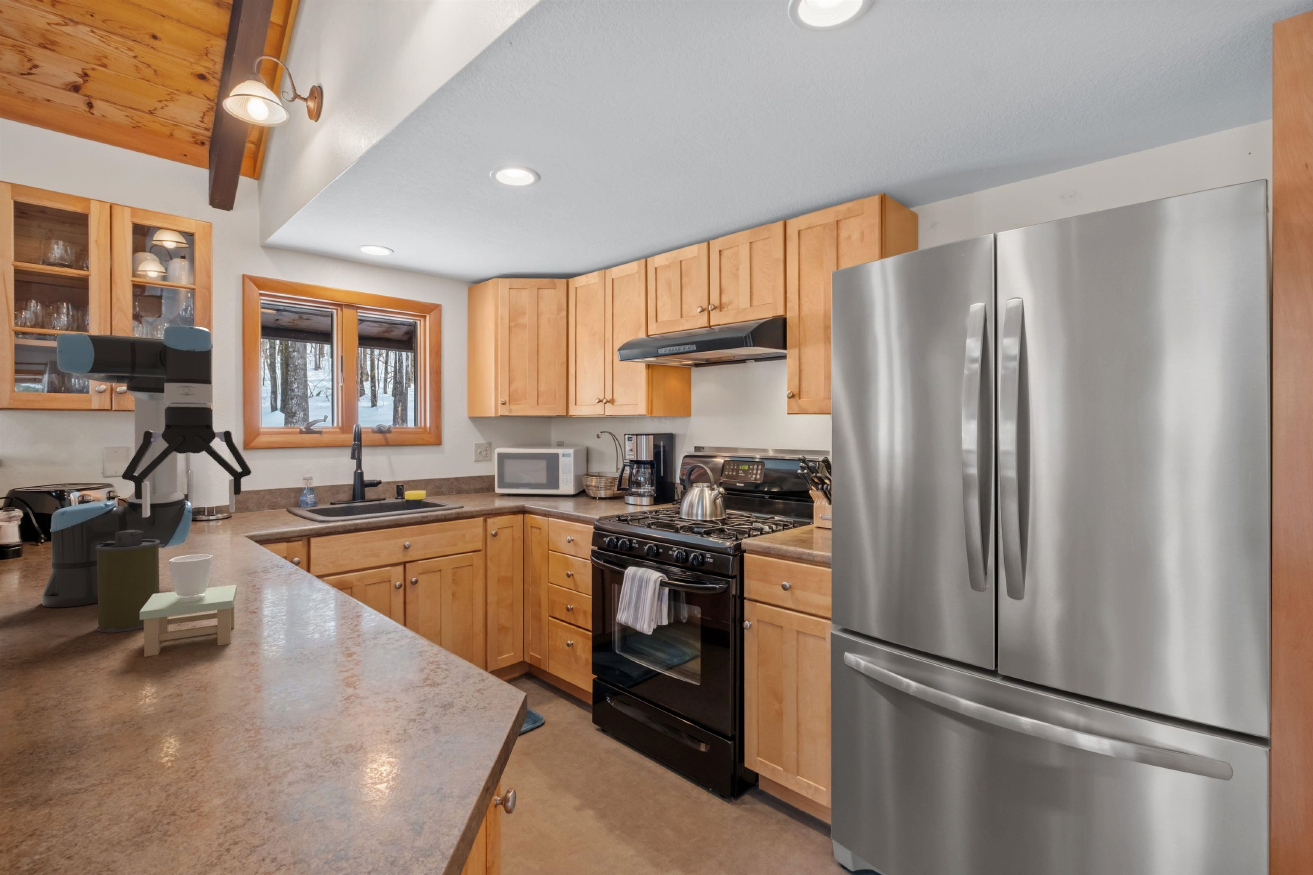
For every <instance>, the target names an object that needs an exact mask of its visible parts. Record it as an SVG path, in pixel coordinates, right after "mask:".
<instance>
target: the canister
mask: <svg viewBox="0 0 1313 875" xmlns="http://www.w3.org/2000/svg"><path fill="white" fill-rule="evenodd" d="M143 533H144V532H143V531H140V530H127V531H121V532H116V533H115V540H114V541H107V542H102V543H100V545H98V546H97V547H95V549H96V550H97V577H98V603H97V618H98V619H97V620H98V621H97V622H98V624H97V625H98V626H97V627H96V630H97V632H99V633H106V634H107V633H109V634H113V633H115V634H116V633H123V632H124V633H125V632H130V631H136V630H140V629H144V619H143V620H140V610H141V609H142V608H143V607H144V605H145V604H146V603H147V601H148V600H149V599H150V597H151V596H152V595H153V594H157V593H160V552H159V550H160V548H159V543H160V541H159V540H156V539H142V534H143Z"/></svg>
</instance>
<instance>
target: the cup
mask: <svg viewBox="0 0 1313 875" xmlns="http://www.w3.org/2000/svg"><path fill="white" fill-rule="evenodd" d="M213 559H214V554H213V555H211V554H206V553H201V554H188V555H182V556H175V557H172V558H171V559H169V560H168V565H169V570H170V575H171V580H172V584H173V587H174V592H175V591H176V594H177V595H178V596H182V597H180V598H179V599H178V601H180V602H189V601H196V600H200V599H203V598H205V597H206V595H204V594H202V593H204V592H205V591H206V590H207V588H208V587H209V586H208V585H209V582H210V577H211V570H212V564H213Z"/></svg>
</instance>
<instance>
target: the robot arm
mask: <svg viewBox="0 0 1313 875" xmlns="http://www.w3.org/2000/svg"><path fill="white" fill-rule="evenodd" d="M212 354H213V344H212V333H211V331H210V330H209V329H207V328H205V327H199V326H191V325H168V326H166V327H164V330H163V337H162V338H161V337H160V338H157V337H142V336H141V337H140V336H139V337H138V336H129V335H128V336H127V335H126V336H125V335H116V334H114V335H113V334H86V333H79V332H77V333H69V332H67V333H66V332H64V333H59V334H58V335H57V337H56V363H57V365H56V366H57V369H58V371H60V372H62V373H65V374H66V373H69V374H71V375H74V376H75V377H78V378H81V379H85V380H90V381H95V382H100V383H106V384H121V385H122V384H125V385H126V392H127V393H128V394H129V395H130V396H131V397H132V398H133V399H134V455H133V457H132V459H131V460H130V462H129V463H128V465H127V467H126V468H125V469H124V470H123V473H122V475H121V479H122V480H125V481H130V482H133V484H134V492H133V493H131V494H130V495H129V496H127V498H126V505H117V503H116V502H115V500H103V501H94V502H87V503H81V504H75V505H70V506H66V507H64V508H63V507H62V508H59V509H57V510H56V511H54V512H53V513H52V514H51V522H50V529H49V531H50V533H51V573H50V575H49V577H48V580H47V583H46V585H45V587H44V590H43V593H42V595H41V596H42V597H41V600H42V601H41V602H42V603H41V604H42V606H43V607H46V608H69V607H71V608H72V607H77V606H85V605H86V606H87V605H92V604H98V577H97V550H96V549H95V547H97V546H98V545H100V543H102V542H107V541H114V540H115V533H116V532H121V531H127V530H140V531H143V532H144V533H143V534H142V539H156V540H159V541H160V543H159V549H166V548H169V547H176V546H177V547H178V546H181V545H183V544H184V543H186V540H187V539H188V538H189V535H190V532H191V527H192V519H193V514H192V513H193V512H192V511H193V506H192V503H191V502H190V501H189V500H188V501H187V500H185V494H184V493H182V492H181V491H179V489H178V454H180V455H183V454H188V453H190V454H200V453H203V452H205V453H206V454H207V455H208V456H209V457H210V458H212V459H213V460H214V461H215V462H216V463H217V464H218V465H219V466H221V468H223V469H224V470H225V471H226V472H227V473H228V474H229V475H230V476H231V477H232V478H229V480H228V496H229V497H228V500H229V501H228V505H229V506H228V507H229V509H228V510H229V513H234V512H235V510H236V509H235V508H236V507H235V506H236V505H235V504H236V502H235V496H239V495H241V493H242V479H243V478H245V477H248V476H250V475H251V474H252V469H251V468H250V466H249V465H248V463H247V462H246V459H245V458H244V456H243V455H242V453H241V452H240V450H239V449H238V447H237V445H236V444H235V442H234V440H233V434H232V431H231V430H229V429H227V430H224V431H217V432H216V431H215V430H214V427H213V424H214V419H213V417H214V415H213V408H212V407H210V406H211V405H212V404H213V381H212V380H213V376H212V374H213V370H212V368H213V367H212V365H213V363H212V362H213V360H212V359H213V358H212V357H213V356H212ZM216 438H218V439H219V440H220V442H223V443H225V445H226V447H227V449H228V450H229V453H230V454H231V455H232V457H233V459H234V460H235V462H236V463H237V465H238V466H239V468H240V469H241V471H238V470H237V468H235V467H234V466H233V465H232V464H231V463H230V462H229V461H228V460H227V459H225V457H223V455H221V453H219V452H218V451H217V450H216V449H215V448H214V447H213V446H212V445H211V444H212V442H214V441H215V439H216Z"/></svg>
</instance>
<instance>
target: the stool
mask: <svg viewBox="0 0 1313 875" xmlns="http://www.w3.org/2000/svg"><path fill="white" fill-rule="evenodd" d="M237 593H238V584H232V585H230V584H229V585H220V586H213V587H212V586H211V587H207V590H206V591H205V592H204V593H202V594H204V595H206V597H205V598H203V599H200V600H196V601H189V602H180V601H178V599H179V598H180V597H182V596H178V595H177V594H176V591H175V590H174V591H167V592H159V593H157V594H153V595H152V596H151V597H150V599H149V600H148V601H147V603H146V604H145V605H144V607H143V608H142V609H141V610H140V620H143V619H144V628H143V644H144V645H143V648H144V649H143V650H144V653H143V654H144V655H143V656H144V658H145V657H151V656H158V655H159V654H160V652H161V642H163V641H169V640H173V639H174V640H175V639H182V638H191V637H196V636H197V637H198V636H203V635H209V634H217V646H224V645H230V644H231V642H232V629H234V628H235V601H236V597H237ZM214 619H215V620H216V619H217V623H216V624H215V625H207V626H199V627H192V628H185V629H177V630H171V631H170V625H176V624H185V623H190V622H191V623H192V622H198V621H199V622H200V621H206V620H214Z"/></svg>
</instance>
